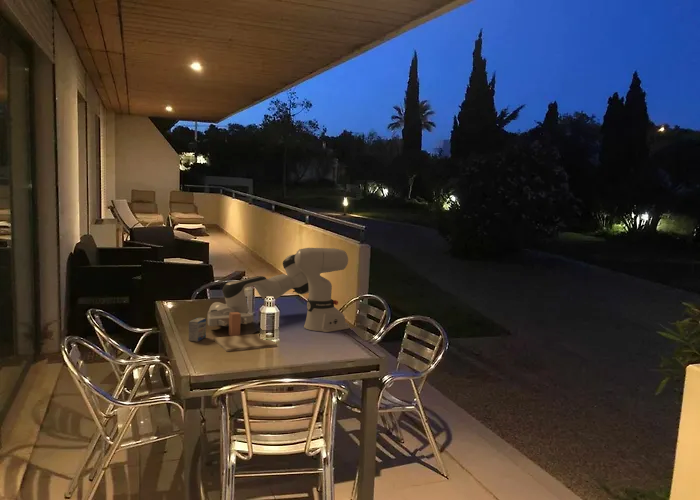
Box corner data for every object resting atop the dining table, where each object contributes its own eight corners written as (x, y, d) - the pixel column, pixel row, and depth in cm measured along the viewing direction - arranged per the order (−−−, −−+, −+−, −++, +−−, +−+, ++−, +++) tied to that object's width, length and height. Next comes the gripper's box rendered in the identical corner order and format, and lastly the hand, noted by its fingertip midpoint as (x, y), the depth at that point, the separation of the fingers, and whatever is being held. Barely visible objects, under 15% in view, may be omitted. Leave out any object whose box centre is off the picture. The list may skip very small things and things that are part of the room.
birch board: (261, 335, 256) (261, 333, 256) (276, 346, 241) (276, 343, 241) (213, 340, 245) (213, 337, 245) (226, 351, 230) (226, 349, 230)
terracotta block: (237, 333, 258) (237, 311, 257) (240, 335, 254) (240, 313, 253) (228, 334, 256) (229, 312, 255) (231, 336, 252) (232, 314, 251)
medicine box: (197, 342, 241) (198, 322, 240) (188, 340, 242) (188, 321, 241) (206, 337, 249) (206, 318, 248) (196, 336, 250) (197, 317, 249)
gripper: (246, 321, 271) (257, 328, 259) (204, 324, 261) (213, 332, 249) (247, 308, 270) (257, 314, 258) (204, 311, 260) (213, 318, 248)
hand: (235, 323), depth 254 cm, fingers open, 8 cm apart
